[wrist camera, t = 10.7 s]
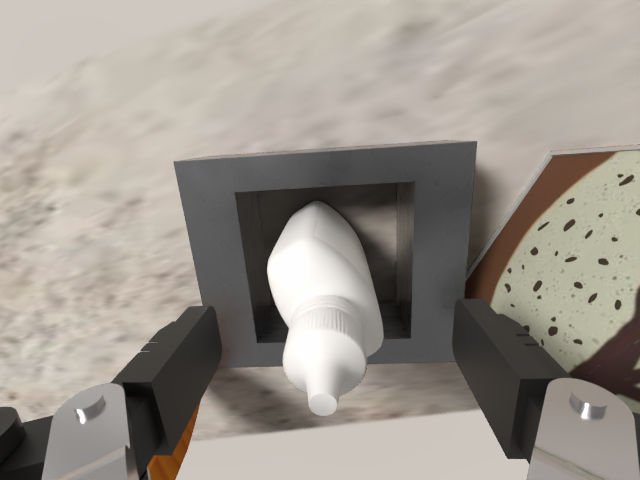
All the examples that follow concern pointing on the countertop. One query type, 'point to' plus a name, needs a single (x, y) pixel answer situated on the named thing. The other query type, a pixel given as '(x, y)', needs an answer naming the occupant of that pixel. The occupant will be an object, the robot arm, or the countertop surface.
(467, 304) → the robot arm
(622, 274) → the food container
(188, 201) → the grey square frame
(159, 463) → the carrot
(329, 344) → the eye dropper bottle
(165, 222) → the countertop surface
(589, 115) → the countertop surface
